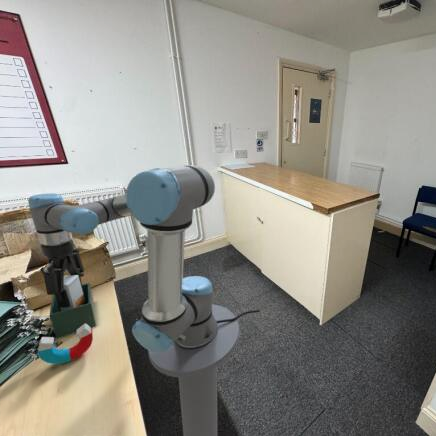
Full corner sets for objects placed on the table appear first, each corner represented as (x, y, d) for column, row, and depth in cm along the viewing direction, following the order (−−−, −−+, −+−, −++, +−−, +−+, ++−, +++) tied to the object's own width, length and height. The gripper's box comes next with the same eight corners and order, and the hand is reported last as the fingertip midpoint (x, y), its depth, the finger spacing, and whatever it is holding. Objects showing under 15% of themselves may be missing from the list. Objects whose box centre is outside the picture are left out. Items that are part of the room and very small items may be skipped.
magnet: (43, 371, 68) (34, 345, 64) (45, 364, 70) (36, 338, 66) (96, 351, 75) (90, 327, 72) (95, 345, 77) (90, 321, 74)
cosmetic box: (76, 313, 82) (67, 285, 78) (61, 314, 81) (52, 285, 77) (86, 301, 88) (78, 274, 83) (72, 302, 87) (64, 275, 82)
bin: (95, 325, 84) (90, 303, 81) (56, 338, 78) (49, 315, 75) (94, 303, 94) (89, 282, 91) (59, 313, 88) (52, 291, 84)
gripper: (65, 229, 84) (78, 283, 91) (15, 256, 66) (36, 320, 73) (89, 229, 85) (99, 282, 93) (46, 256, 67) (64, 319, 75)
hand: (72, 299), depth 83 cm, fingers open, 7 cm apart
